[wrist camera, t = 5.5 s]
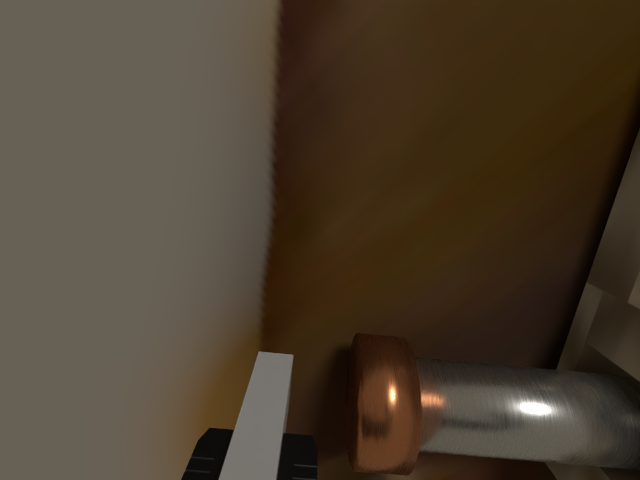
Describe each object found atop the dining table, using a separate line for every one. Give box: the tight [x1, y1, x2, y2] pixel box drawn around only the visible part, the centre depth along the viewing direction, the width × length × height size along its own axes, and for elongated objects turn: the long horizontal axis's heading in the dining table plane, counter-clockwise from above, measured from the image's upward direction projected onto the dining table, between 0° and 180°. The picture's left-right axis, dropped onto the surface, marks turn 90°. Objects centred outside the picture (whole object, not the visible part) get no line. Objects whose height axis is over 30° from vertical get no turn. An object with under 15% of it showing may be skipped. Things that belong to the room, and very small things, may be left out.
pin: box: [346, 333, 640, 475], centre depth 14 cm, size 5×14×5 cm, turn 84°
